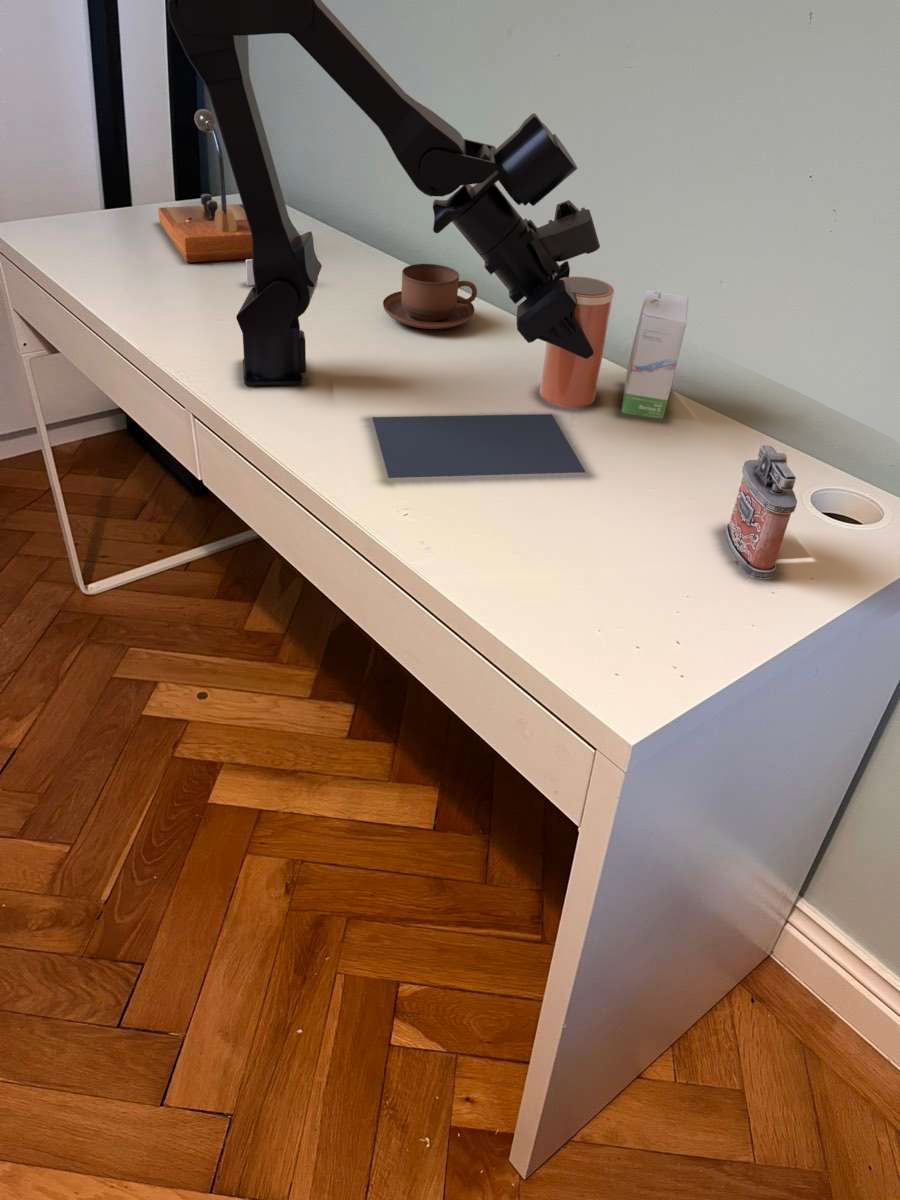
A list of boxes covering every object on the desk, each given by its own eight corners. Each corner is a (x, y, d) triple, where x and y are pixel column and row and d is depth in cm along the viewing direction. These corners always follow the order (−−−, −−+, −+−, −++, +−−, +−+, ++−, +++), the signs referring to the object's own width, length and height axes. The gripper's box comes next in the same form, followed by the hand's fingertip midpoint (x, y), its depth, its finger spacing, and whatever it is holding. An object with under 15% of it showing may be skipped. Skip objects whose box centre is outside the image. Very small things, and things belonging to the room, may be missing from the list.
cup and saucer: (449, 299, 138) (452, 255, 134) (488, 331, 129) (493, 285, 125) (368, 307, 133) (370, 261, 129) (404, 341, 125) (406, 292, 121)
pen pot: (565, 414, 111) (583, 300, 103) (527, 392, 115) (542, 280, 107) (606, 402, 114) (626, 290, 107) (568, 381, 118) (585, 272, 111)
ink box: (624, 385, 119) (642, 287, 112) (667, 391, 118) (688, 294, 111) (619, 415, 112) (639, 313, 105) (665, 422, 111) (688, 320, 104)
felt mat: (388, 481, 96) (388, 477, 96) (371, 420, 106) (372, 416, 106) (585, 475, 100) (585, 471, 100) (551, 417, 110) (551, 414, 110)
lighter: (717, 529, 93) (743, 433, 87) (751, 530, 94) (780, 434, 88) (744, 579, 87) (775, 479, 81) (781, 579, 87) (814, 480, 81)
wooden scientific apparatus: (203, 288, 134) (193, 149, 124) (159, 223, 155) (147, 100, 145) (299, 281, 139) (297, 147, 129) (243, 219, 160) (238, 100, 150)
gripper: (567, 207, 93) (660, 330, 100) (555, 160, 108) (637, 270, 115) (476, 283, 98) (571, 396, 104) (476, 228, 113) (560, 330, 119)
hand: (587, 344), depth 111 cm, fingers closed on pen pot, 6 cm apart
